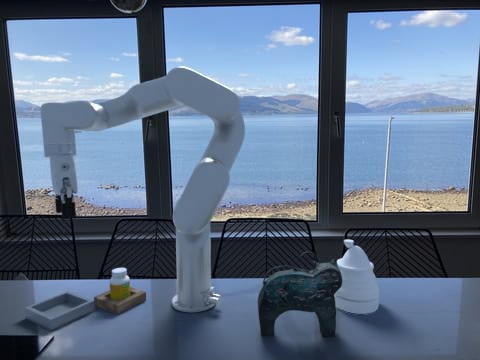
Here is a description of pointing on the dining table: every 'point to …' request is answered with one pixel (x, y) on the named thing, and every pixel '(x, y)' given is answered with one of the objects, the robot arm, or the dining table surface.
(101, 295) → the socket block
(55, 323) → the tray
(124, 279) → the supplement bottle
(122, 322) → the dining table surface
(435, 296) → the dining table surface
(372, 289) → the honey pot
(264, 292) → the green animal figurine
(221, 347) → the dining table surface
